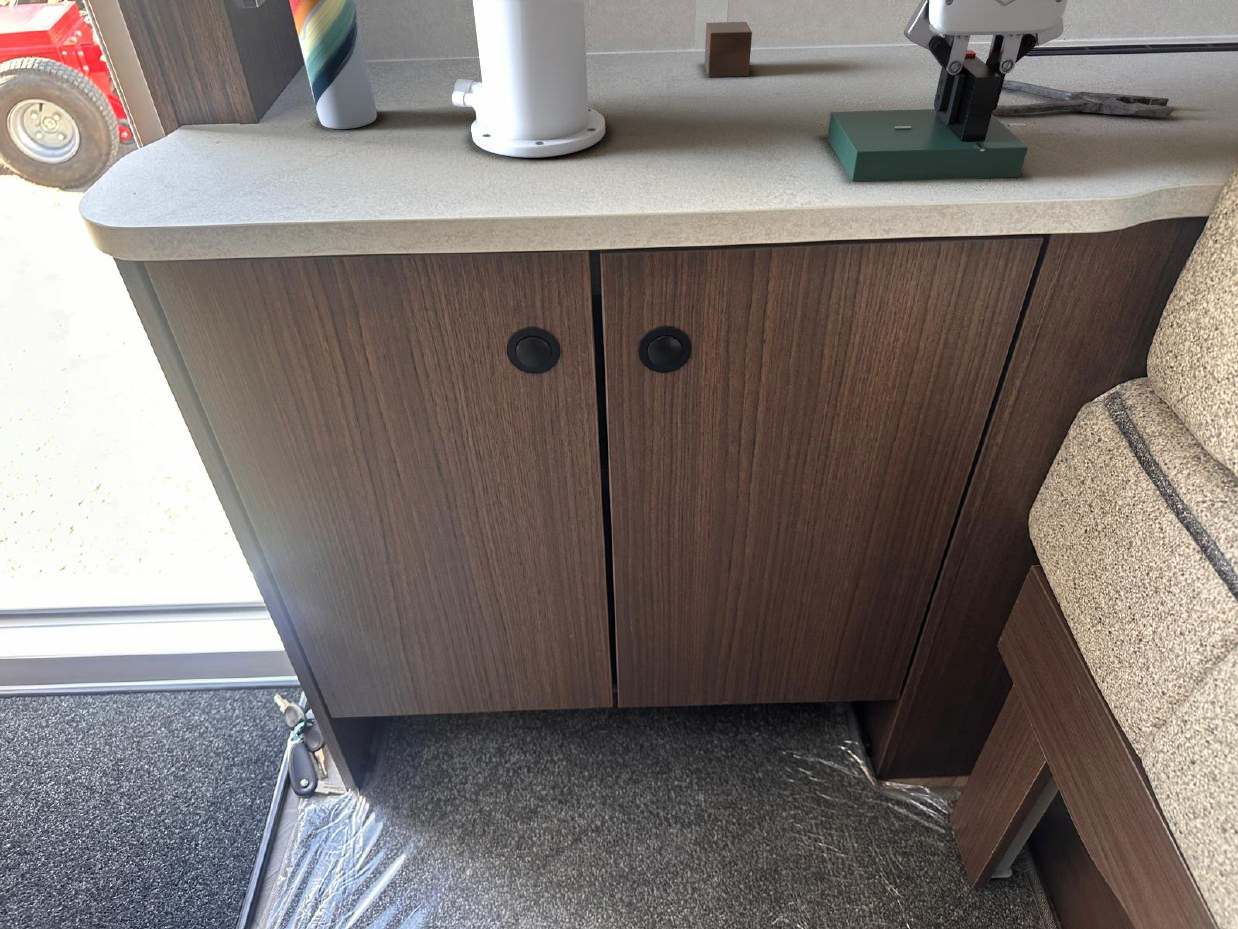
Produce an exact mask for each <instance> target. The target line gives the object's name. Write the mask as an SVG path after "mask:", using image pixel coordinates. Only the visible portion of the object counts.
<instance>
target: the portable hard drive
mask: <svg viewBox="0 0 1238 929" xmlns="http://www.w3.org/2000/svg"><path fill="white" fill-rule="evenodd" d="M963 65H964V68H963V72H962V73H963V74H964V75H965V76H966V83H965V87H964V92H963V96H962V100H961V104H960V108H959V113H958V117H957V121H956V123H954V124H953V125H947V126H948V127H949V128H950V130H951V131H952V132H953V133H954V134H955V135H956V136H957V137H958V138H959V139H960V141H985V139H986V135H987V131H988V127H989V123H990V120H991V116H992V115H993V113H992V112H993V108H994V104H995V101H996V97H997V93H998V89H999V85H1000V82H1001V76H1000V75H998V74H997V73H996V72H995V71H994V70H992V69H991V68H990V67H989V66H988V65H986V62H984V61H983V60H981V58H979V57H978V56H977V53H976V52H975V51H973V49H971V50H970V49H969V50H968V49H967V52H966V56H965V60H964V64H963ZM936 114H937V112H936Z"/></svg>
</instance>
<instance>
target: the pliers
mask: <svg viewBox="0 0 1238 929" xmlns="http://www.w3.org/2000/svg"><path fill="white" fill-rule="evenodd" d="M1002 89H1008V90H1015V91H1019V92H1023V93H1028V94H1033V95H1036V96H1041V97H1046V98H1049V99H1055V101H1046V102H1037V103H1027V104H1010V105H1008V104H1007V105H1005V104H998V105H997V108H996V109H995V110H993V112H992V114H993V115H994V114H995V115H996V114H998V115H1024V114H1025V115H1026V114H1036V113H1046V112H1047V113H1048V112H1059V111H1061V112H1062V111H1074V112H1075V111H1076V112H1082V113H1098V114H1106V115H1121V116H1139V117H1155V118H1156V117H1158V118H1170V117H1171V114H1172V112H1173V109H1174V107H1173V106H1167V105H1168V103H1169V101H1170V98H1168V97H1156V96H1143V95H1133V94H1121V93H1111V92H1090V91H1067V90H1062V89H1057V88H1052V87H1047V86H1043V85H1037V84H1033V83H1028V82H1024V81H1017V80H1011V79H1004V83H1003V86H1002ZM1056 100H1057V101H1056Z"/></svg>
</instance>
